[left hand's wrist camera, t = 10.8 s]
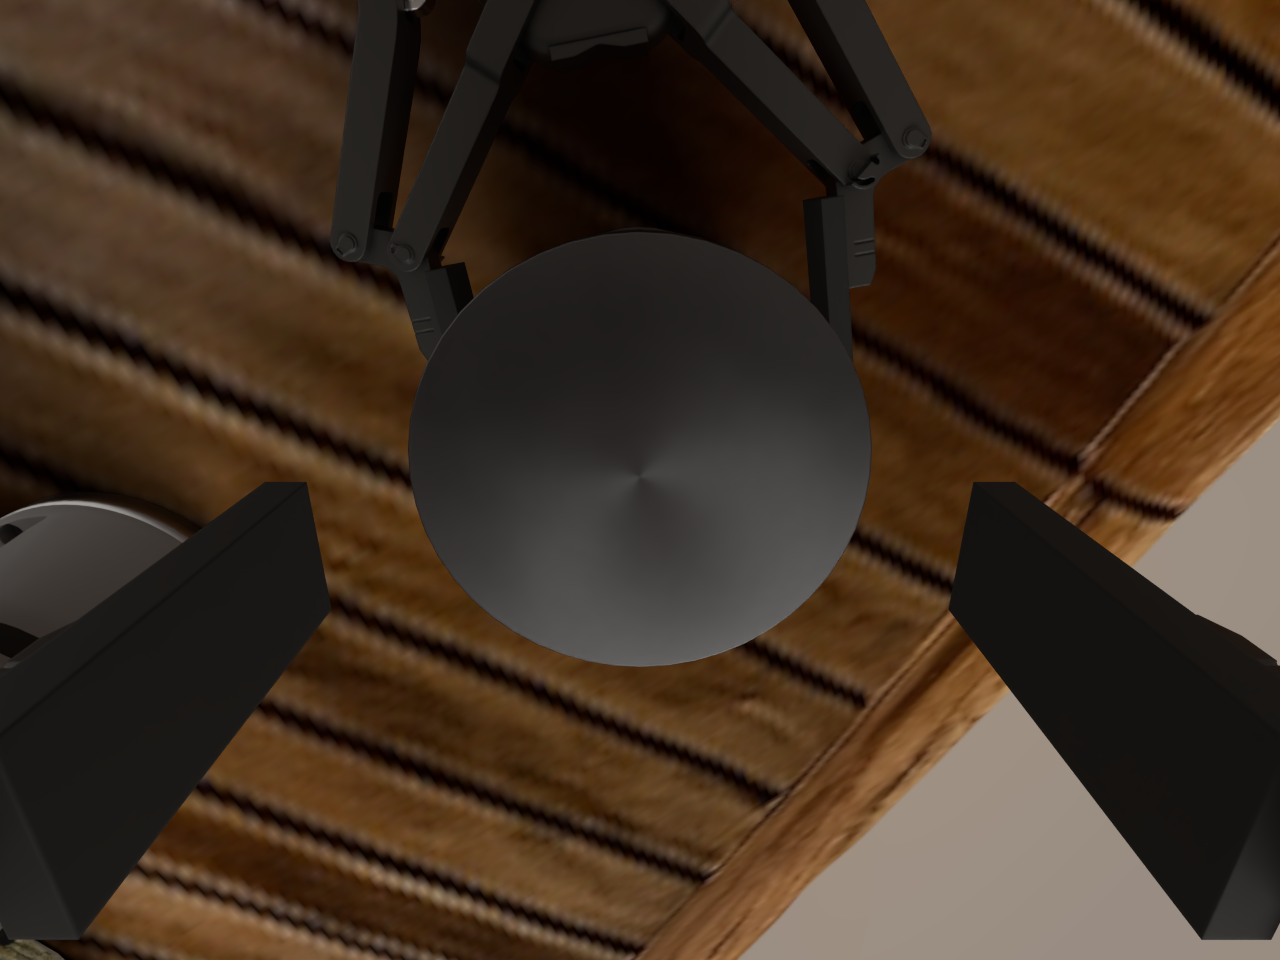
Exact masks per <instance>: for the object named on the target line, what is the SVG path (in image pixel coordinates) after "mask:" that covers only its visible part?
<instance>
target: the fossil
mask: <svg viewBox="0 0 1280 960" xmlns="http://www.w3.org/2000/svg"><path fill="white" fill-rule="evenodd" d="M0 960H64V959H63V958H62V957H61V956H60V955H59V954H58V953H56V952H54V951H53V950H51V949H49V948H48V947H46V946H44V945H43V944H41V943H39V942H38V941H36V940H9V939H8V937H7V935H6V933H5V931H4V929H3V928H2V929H1V930H0Z"/></svg>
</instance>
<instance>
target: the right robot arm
mask: <svg viewBox="0 0 1280 960" xmlns="http://www.w3.org/2000/svg"><path fill="white" fill-rule="evenodd" d="M357 1H358V7H359V12H358V20H357V28H356V36H355V44H354V52H353V60H352V68H351V76H350V84H349V92H348V100H347V108H346V116H345V124H344V132H343V140H342V148H341V156H340V164H339V172H338V180H337V188H336V196H335V204H334V212H333V220H332V228H331V236H330V242H331V247H332V249H333V252H334V253H335V254H336V255H337V256H338V257H339V258H340V259H342V260H344V261H347V262H355V261H357V262H363V263H368V264H374V265H379V266H383V267H386V268H387V269H389V270H391V271H392V272H393V273H394V274H395V275H396V277H397V278H398V280H399V282H400V284H401V288H402V291H403V294H404V298H405V301H406V305H407V308H408V311H409V315H410V318H411V321H412V325H413V329H414V332H415V335H416V339H417V342H418V346H419V349H420V351H421V352H422V353H423V355H424V356H425V357H426V359H427V360H429V358H430V357H431V355H432V353H433V351H434V349H435V347H436V346H437V344H438V342H439V340H440V338H441V336H442V335H443V334H444V332H445V331H446V330H447V328H448V327H449V326H450V324H451V323H452V322H453V320H454V319H455V318H456V316H457V315H458V314H459V312H460V311H461V310H462V309H463V308H464V307H465V306H466V305H467V304H468V303H469V302H470V301H471V300H472V299H473V294H472V290H471V286H470V282H469V278H468V274H467V270H466V266H465V262H462V263H456V264H451V265H445V266H441V262H442V260H443V259H444V258H445V257H444V256H441V254H442V252H443V250H444V248H445V246H446V243H447V241H448V239H449V237H450V235H451V233H452V230H453V228H454V226H455V224H456V222H457V219H458V217H459V215H460V213H461V211H462V209H463V206H464V204H465V202H466V200H467V198H468V195H469V193H470V191H471V189H472V187H473V184H474V182H475V180H476V178H477V176H478V174H479V171H480V169H481V167H482V165H483V163H484V160H485V158H486V156H487V154H488V152H489V150H490V147H491V145H492V143H493V141H494V139H495V136H496V134H497V132H498V130H499V128H500V126H501V123H502V121H503V119H504V117H505V115H506V112H507V110H508V108H509V106H510V104H511V102H512V100H513V98H514V97H515V96H516V95H517V94H518V92H519V91H520V89H521V87H522V85H523V83H524V81H525V78H526V76H527V74H528V72H529V70H530V68H531V65H532V63H533V61H535V62H537V63H538V64H540V65H542V66H545V67H548V68H553V69H557V71H558V73H560V72H565V71H570V70H575V69H580V68H582V67H584V66H586V65H588V64H589V63H591V62H593V61H595V60H597V59H599V58H601V57H608V58H618V59H630V58H635V57H640V56H645V55H648V51H649V50H650V49H652V48H654V47H655V46H656V45H658V44H659V43H660V42H661V41H662V40H663V39H664V37H665V36H666V35H667V33H668V34H669V35H670V36H671V37H672V38H673V39H674V40H675V41H676V42H677V43H678V44H679V45H680V46H681V47H682V48H683V49H684V50H685V51H686V52H687V53H688V54H690V55H691V56H692V57H693V58H694V59H696V60H698V61H700V62H701V63H702V64H703V65H704V66H705V67H706V68H707V69H708V70H709V71H710V72H711V73H712V74H713V75H714V76H715V77H716V78H717V79H718V80H719V81H720V82H721V83H722V84H723V85H724V86H725V87H726V88H727V89H728V90H729V91H730V92H731V93H732V94H733V95H734V96H735V97H736V98H737V99H738V100H739V101H740V102H741V103H742V104H743V105H744V106H745V107H746V108H747V109H748V110H749V111H750V112H751V113H752V114H753V115H754V116H755V117H756V118H757V119H758V120H759V121H760V122H761V123H762V124H763V125H764V126H766V127H767V128H768V129H769V130H770V131H771V132H772V133H773V134H774V135H775V136H776V137H777V138H778V139H779V140H780V141H781V142H782V143H783V144H784V145H785V146H786V147H787V148H788V149H789V150H790V151H791V152H792V153H793V154H794V155H795V156H796V157H797V158H798V159H799V160H800V161H801V162H802V163H803V164H804V165H805V166H806V167H807V168H808V169H809V170H810V171H811V172H812V173H813V174H814V175H815V176H816V177H817V178H818V179H819V180H820V181H821V182H822V183H823V184H824V185H825V186H826V195H827V196H823V197H818V198H812V199H807V200H803V207H804V220H805V233H806V246H807V259H808V272H809V285H810V298H811V303H812V304H813V305H814V306H815V307H816V308H817V309H818V310H819V312H820V313H821V314H822V315H823V317H824V318H825V319H826V321H827V322H828V323H829V324H830V326H831V327H832V328H833V330H834V331H835V332H836V333H837V335H838V337H839V339H840V340H841V342H842V344H843V346H844V347H845V349H846V351H847V353H848V354H849V356H850V358H851V360H852V362H853V351H852V333H851V315H850V297H849V288H854V287H860V286H865V285H871V283H872V280H873V276H874V273H875V270H876V259H875V241H874V238H875V234H874V210H873V193H874V190H875V186H876V185H877V183H878V182H879V180H880V179H881V178H882V176H883V175H885V174H886V173H888V172H889V171H891V170H893V169H894V168H896V167H898V166H899V165H901V164H903V163H905V162H906V161H908V160H910V159H913V158H916V157H918V156H920V155H922V154H923V153H924V152H925V151H926V150H927V148H928V146H929V144H930V142H931V134H932V133H931V130H930V126H929V124H928V122H927V120H926V118H925V116H924V114H923V112H922V110H921V109H920V107H919V105H918V103H917V101H916V99H915V97H914V95H913V93H912V91H911V89H910V87H909V85H908V83H907V81H906V79H905V77H904V75H903V73H902V71H901V70H900V68H899V66H898V64H897V62H896V60H895V58H894V56H893V54H892V52H891V50H890V48H889V46H888V44H887V42H886V40H885V38H884V36H883V34H882V32H881V31H880V29H879V27H878V25H877V23H876V21H875V19H874V17H873V15H872V13H871V11H870V9H869V7H868V5H867V3H866V1H865V0H788V2H789V4H790V5H791V7H792V9H793V11H794V13H795V14H796V16H797V18H798V20H799V22H800V24H801V25H802V27H803V29H804V31H805V33H806V35H807V36H808V38H809V40H810V42H811V44H812V45H813V47H814V49H815V51H816V53H817V55H818V56H819V58H820V60H821V62H822V64H823V66H824V67H825V69H826V71H827V73H828V75H829V76H830V78H831V80H832V82H833V84H834V86H835V87H836V89H837V91H838V93H839V95H840V97H841V98H842V100H843V102H844V104H845V106H846V107H847V109H848V111H849V113H850V115H851V117H852V118H853V120H854V122H855V124H856V126H857V128H858V129H859V131H860V133H861V135H862V137H863V138H864V140H863V141H861V142H859V141H858V140H857V139H856V138H855V137H854V136H853V135H852V134H851V133H850V132H849V131H848V130H847V129H846V128H845V126H844V125H843V124H842V123H841V122H840V121H839V120H838V119H837V118H836V117H835V116H834V115H833V114H832V113H831V112H830V111H829V110H828V109H827V108H826V107H825V106H824V105H823V104H822V103H821V102H820V101H819V100H818V98H817V97H816V96H815V95H814V94H813V93H812V92H811V91H810V90H809V89H808V88H807V87H806V86H805V85H804V84H803V83H802V82H801V81H800V80H799V79H798V78H797V77H796V76H795V75H794V74H793V73H792V71H791V70H790V69H789V68H788V67H787V66H786V65H785V64H784V63H783V62H782V61H781V60H780V59H779V58H778V57H777V56H776V55H775V54H774V53H773V52H772V51H771V50H770V49H769V48H768V47H767V46H766V44H765V43H764V42H763V41H762V40H761V39H760V38H759V37H758V36H757V35H756V34H755V33H754V32H753V31H752V30H751V29H750V28H749V27H748V26H747V25H746V24H745V23H744V22H743V21H742V20H741V19H740V18H739V16H738V15H737V14H736V13H735V12H734V10H733V9H732V7H731V5H730V3H729V1H728V0H476V1H477V2H478V3H479V4H480V5H481V6H482V7H483V8H484V9H483V12H482V14H481V16H480V19H479V21H478V23H477V26H476V28H475V31H474V33H473V35H472V38H471V40H470V42H469V45H468V48H467V51H466V55H465V65H464V68H463V71H462V73H461V76H460V78H459V80H458V83H457V85H456V87H455V90H454V92H453V94H452V97H451V99H450V101H449V104H448V106H447V108H446V111H445V113H444V115H443V118H442V120H441V122H440V125H439V127H438V129H437V132H436V134H435V136H434V139H433V141H432V143H431V146H430V148H429V150H428V153H427V155H426V157H425V160H424V162H423V164H422V167H421V169H420V171H419V174H418V176H417V178H416V181H415V183H414V185H413V188H412V190H411V192H410V195H409V197H408V200H407V202H406V204H405V207H404V209H403V211H402V214H401V216H400V218H399V221H398V223H397V225H396V228H395V229H394V228H392V227H393V220H394V214H395V207H396V201H397V195H398V188H399V182H400V175H401V169H402V163H403V156H404V150H405V143H406V137H407V130H408V124H409V118H410V111H411V105H412V98H413V92H414V86H415V79H416V73H417V66H418V60H419V52H420V42H421V24H420V18H421V17H425V16H427V15H428V14H430V13H431V11H432V10H433V8H434V6H435V1H436V0H357Z"/></svg>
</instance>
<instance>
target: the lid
mask: <svg viewBox="0 0 1280 960" xmlns="http://www.w3.org/2000/svg"><path fill="white" fill-rule="evenodd" d="M871 454H872V441H871V429H870V418H869V413H868V409H867V404H866V400H865V396H864V391H863V388H862V385H861V383H860V380H859V377H858V375H857V372H856V370H855V367H854V365H853V362H852V360H851V358H850V356H849V354H848V353H847V351H846V349H845V347H844V346H843V344H842V342H841V340H840V339H839V337H838V335H837V333H836V332H835V331H834V330H833V328H832V327H831V326H830V324H829V323H828V322H827V321H826V319H825V318H824V317H823V315H822V314H821V313H820V312H819V310H818V309H817V308H816V307H815V306H814V305H813V304H812V303H811V302H810V301H809V300H808V299H807V298H806V297H805V296H804V295H803V294H802V293H800V292H799V291H798V290H797V289H796V288H795V287H794V286H793V285H791V284H790V283H789V282H787V281H786V280H785V279H783V278H782V277H780V276H779V275H778V274H776V273H775V272H773V271H772V270H771V269H769V268H768V267H766V266H764V265H762V264H760V263H758V262H757V261H755V260H753V259H751V258H749V257H747V256H745V255H743V254H741V253H739V252H737V251H735V250H733V249H731V248H729V247H726V246H723V245H720V244H717V243H714V242H712V241H709V240H706V239H703V238H700V237H696V236H691V235H686V234H681V233H676V232H671V231H660V230H644V229H634V230H621V231H608V232H603V233H598V234H594V235H589V236H585V237H580V238H576V239H574V240H571V241H568V242H565V243H563V244H560V245H557V246H555V247H552V248H549V249H547V250H545V251H543V252H540V253H538V254H536V255H535V256H533V257H531V258H529V259H527V260H525V261H524V262H522V263H520V264H518V265H516V266H514V267H512V268H511V269H509V270H508V271H506V272H505V273H504V274H502V275H501V276H500V277H498V278H497V279H496V280H494V281H493V282H491V283H490V284H489V285H487V286H486V287H485V288H483V289H482V290H481V291H480V292H479V293H478V294H477V295H476V296H475V297H474V298H473V299H472V300H471V301H470V302H469V303H468V304H467V305H466V306H465V307H464V308H463V309H462V310H461V311H460V312H459V314H458V315H457V316H456V318H455V319H454V320H453V322H452V323H451V324H450V326H449V327H448V328H447V330H446V331H445V332H444V334H443V335H442V336H441V338H440V340H439V342H438V344H437V346H436V347H435V349H434V351H433V353H432V355H431V357H430V358H429V360H428V362H427V364H426V367H425V369H424V372H423V375H422V378H421V380H420V383H419V386H418V388H417V391H416V395H415V400H414V404H413V409H412V414H411V418H410V429H409V443H408V455H409V469H410V480H411V484H412V489H413V494H414V498H415V503H416V507H417V510H418V512H419V515H420V518H421V521H422V523H423V526H424V529H425V532H426V534H427V536H428V538H429V540H430V541H431V543H432V545H433V547H434V549H435V551H436V553H437V555H438V557H439V558H440V560H441V561H442V563H443V564H444V565H445V567H446V568H447V570H448V571H449V573H450V574H451V576H452V577H453V578H454V580H455V581H456V582H457V583H458V584H459V585H460V586H461V587H462V589H463V590H464V591H465V592H466V593H467V594H468V595H469V596H470V598H471V599H472V600H474V601H475V602H476V603H477V604H478V605H479V606H480V607H482V608H483V609H484V610H485V611H486V612H487V613H488V614H490V615H491V616H492V617H493V618H495V619H496V620H498V621H499V622H500V623H502V624H503V625H505V626H506V627H508V628H509V629H511V630H512V631H514V632H515V633H517V634H519V635H521V636H523V637H525V638H527V639H528V640H530V641H532V642H534V643H536V644H538V645H540V646H543V647H546V648H548V649H551V650H553V651H556V652H558V653H561V654H564V655H567V656H571V657H575V658H578V659H582V660H586V661H590V662H596V663H603V664H609V665H616V666H637V667H645V666H662V665H672V664H678V663H684V662H689V661H695V660H698V659H702V658H705V657H709V656H712V655H716V654H720V653H722V652H725V651H727V650H729V649H732V648H734V647H737V646H739V645H742V644H744V643H746V642H748V641H750V640H752V639H753V638H755V637H757V636H759V635H761V634H763V633H764V632H766V631H768V630H770V629H771V628H772V627H774V626H775V625H777V624H778V623H779V622H781V621H782V620H784V619H785V618H787V617H788V616H789V615H791V614H792V613H793V612H794V611H795V610H796V609H797V608H798V607H800V606H801V605H802V604H803V603H804V602H805V601H806V600H807V599H808V598H810V597H811V595H812V594H813V593H814V592H815V591H816V590H817V589H818V587H819V586H820V585H821V584H822V583H823V582H824V581H825V579H826V578H827V577H828V576H829V574H830V573H831V571H832V570H833V568H834V567H835V565H836V564H837V562H838V561H839V559H840V558H841V556H842V555H843V553H844V551H845V549H846V547H847V545H848V543H849V541H850V539H851V537H852V535H853V533H854V531H855V529H856V527H857V524H858V521H859V518H860V515H861V512H862V509H863V506H864V503H865V499H866V494H867V489H868V484H869V479H870V471H871Z"/></svg>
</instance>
